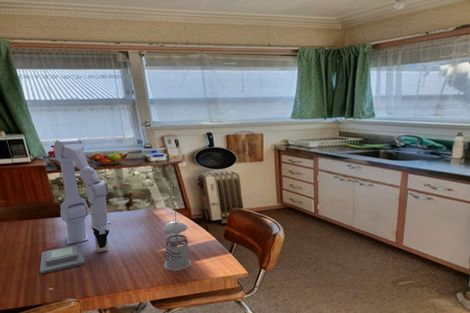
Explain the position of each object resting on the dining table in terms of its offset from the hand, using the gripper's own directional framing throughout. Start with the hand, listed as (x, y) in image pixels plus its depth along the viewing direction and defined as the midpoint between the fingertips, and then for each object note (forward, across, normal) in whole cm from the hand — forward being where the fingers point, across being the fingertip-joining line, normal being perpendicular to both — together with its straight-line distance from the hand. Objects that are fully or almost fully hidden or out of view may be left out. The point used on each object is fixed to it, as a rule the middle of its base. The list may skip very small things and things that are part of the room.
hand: (101, 245), depth 126 cm
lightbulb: (+2, -12, -26) cm, 29 cm away
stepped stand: (+2, 0, +14) cm, 14 cm away
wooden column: (+2, 0, 0) cm, 2 cm away
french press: (+2, -26, -22) cm, 34 cm away
